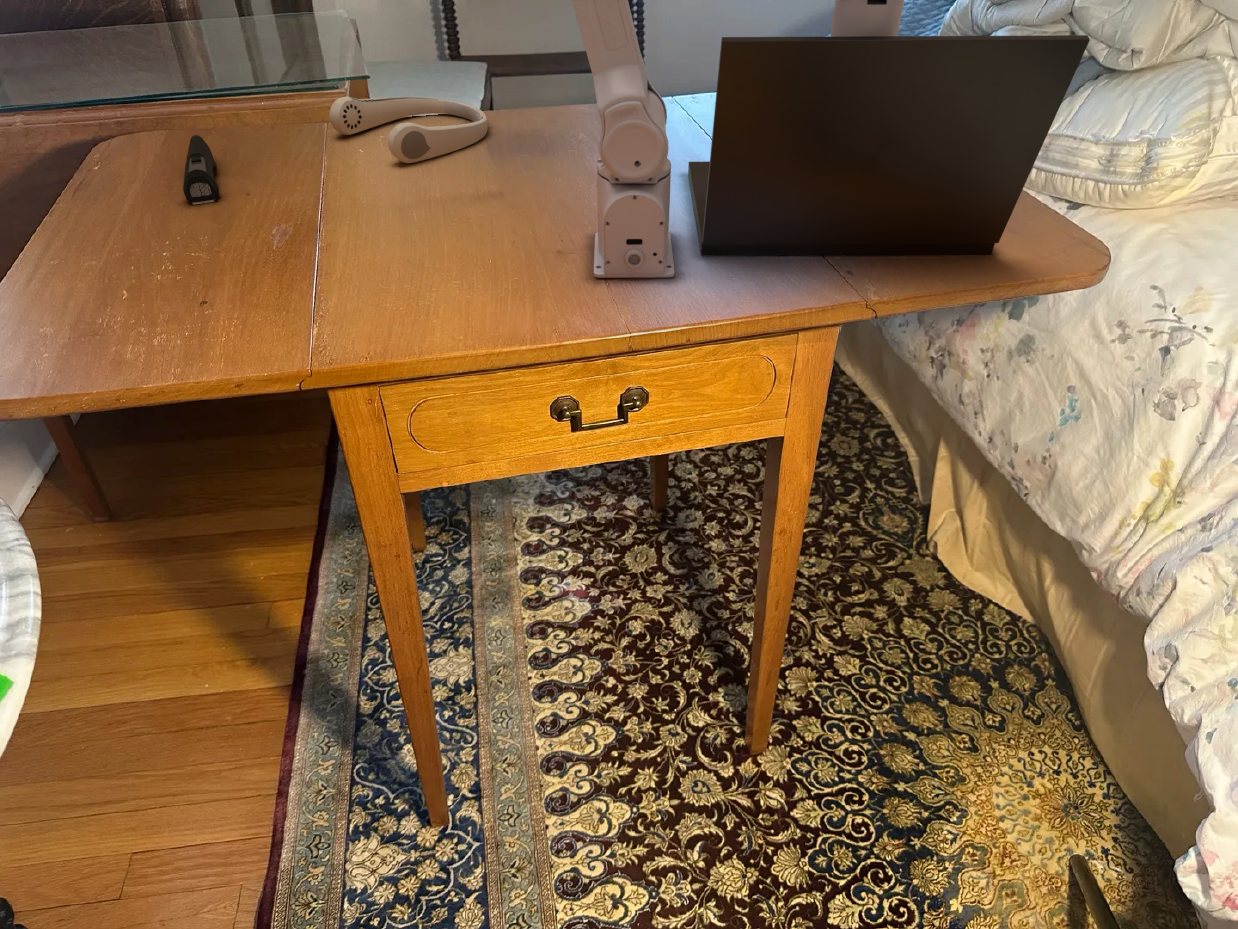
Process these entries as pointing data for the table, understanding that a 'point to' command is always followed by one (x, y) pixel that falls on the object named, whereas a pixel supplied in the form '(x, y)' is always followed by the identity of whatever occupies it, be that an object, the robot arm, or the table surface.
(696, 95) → the table surface
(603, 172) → the robot arm
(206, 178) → the electric trimmer
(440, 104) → the beige neck fan
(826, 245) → the laptop
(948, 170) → the laptop screen
